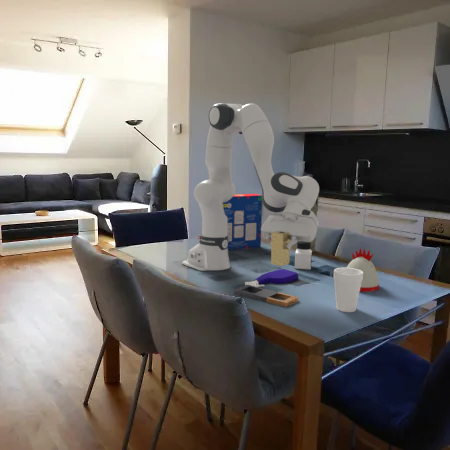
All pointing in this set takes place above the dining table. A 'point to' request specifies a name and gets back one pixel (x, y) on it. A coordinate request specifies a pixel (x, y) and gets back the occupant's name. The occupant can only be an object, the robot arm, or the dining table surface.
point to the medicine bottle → (303, 255)
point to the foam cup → (347, 288)
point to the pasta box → (244, 221)
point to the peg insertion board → (266, 295)
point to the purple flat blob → (274, 278)
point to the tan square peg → (280, 248)
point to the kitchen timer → (365, 270)
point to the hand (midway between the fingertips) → (279, 247)
